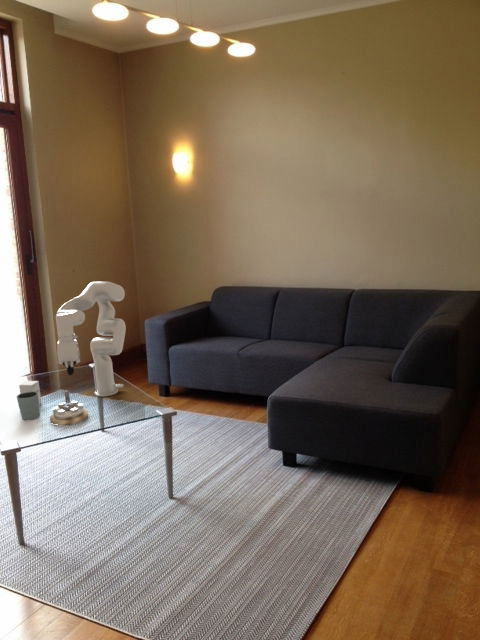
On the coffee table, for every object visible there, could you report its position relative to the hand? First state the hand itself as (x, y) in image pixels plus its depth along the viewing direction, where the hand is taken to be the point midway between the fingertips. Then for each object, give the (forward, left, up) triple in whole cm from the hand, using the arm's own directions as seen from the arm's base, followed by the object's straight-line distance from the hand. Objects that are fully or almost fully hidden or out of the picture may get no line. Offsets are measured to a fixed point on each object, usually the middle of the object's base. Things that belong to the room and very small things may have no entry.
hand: (71, 374), depth 286 cm
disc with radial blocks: (+4, +5, -19) cm, 20 cm away
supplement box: (+21, -25, -21) cm, 39 cm away
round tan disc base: (+4, +5, -21) cm, 22 cm away
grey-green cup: (+22, -7, -21) cm, 31 cm away
